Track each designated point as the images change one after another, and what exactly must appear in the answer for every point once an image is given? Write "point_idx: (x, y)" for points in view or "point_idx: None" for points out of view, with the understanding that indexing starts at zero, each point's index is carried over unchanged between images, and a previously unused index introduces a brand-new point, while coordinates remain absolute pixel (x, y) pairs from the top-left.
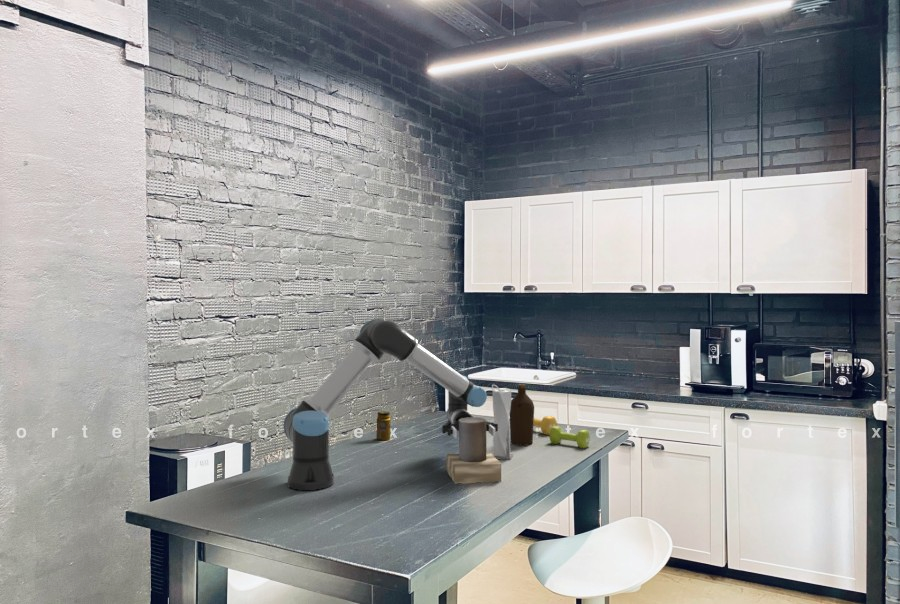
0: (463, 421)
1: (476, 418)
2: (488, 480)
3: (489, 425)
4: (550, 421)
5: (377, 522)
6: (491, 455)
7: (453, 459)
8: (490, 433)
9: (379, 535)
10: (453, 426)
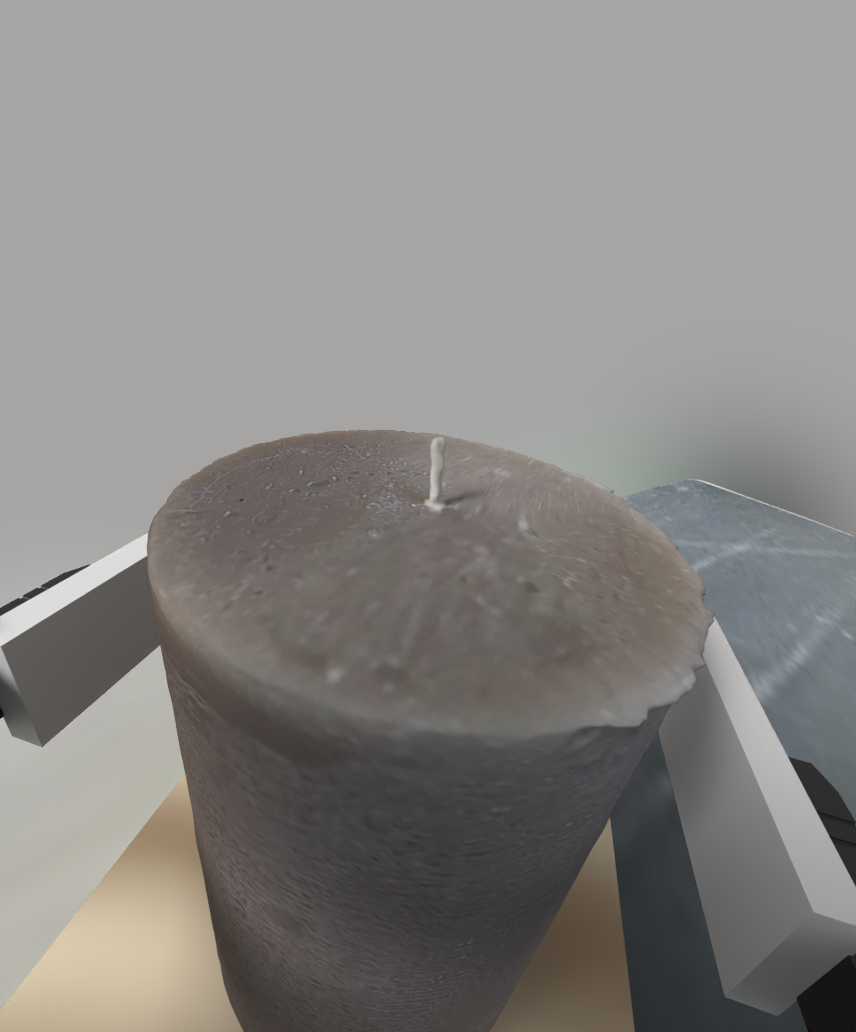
0: (619, 502)
1: (316, 515)
2: None
3: (59, 610)
4: None
5: (832, 599)
6: (103, 906)
7: (591, 957)
8: (144, 651)
9: (790, 554)
10: (793, 860)
